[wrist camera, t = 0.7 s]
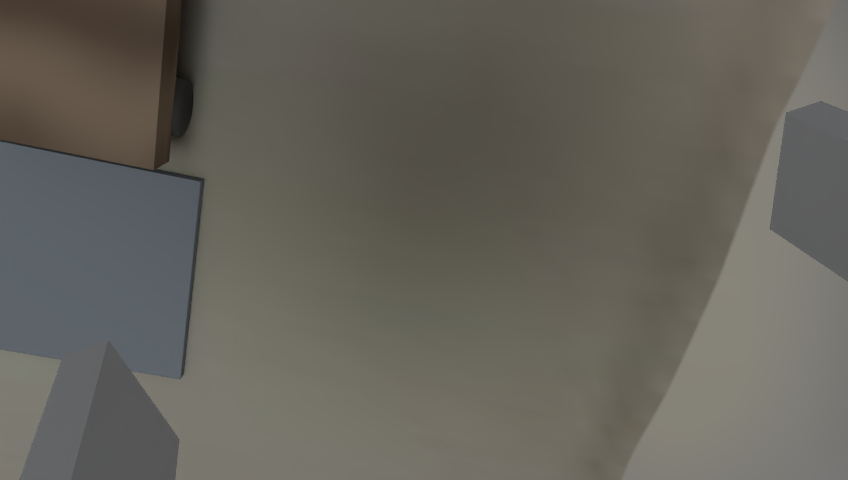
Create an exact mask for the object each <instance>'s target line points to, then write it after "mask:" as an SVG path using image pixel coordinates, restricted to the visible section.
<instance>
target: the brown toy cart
mask: <svg viewBox="0 0 848 480" xmlns="http://www.w3.org/2000/svg"><path fill="white" fill-rule="evenodd" d="M181 11H182V0H0V139H1V140H6V141H11V142H16V143H21V144H26V145H31V146H36V147H41V148H46V149H51V150H56V151H61V152H66V153H71V154H76V155H81V156H86V157H91V158H96V159H101V160H106V161H111V162H116V163H121V164H125V165H130V166H135V167H140V168H145V169H150V170H155V169H156V168H158V167H160V166H162V165H163V164H165V163H167V162H168V161H169V153H170V141H171V136H174V137H181V136H183V135H184V133H185V131H186V130H187V127H188V125H189V122H190V118H191V113H192V107H193V90H192V85H191V83H190V81H189V80H186V79H182V78H177V77H176V70H177V58H178V47H179V35H180V23H181Z"/></svg>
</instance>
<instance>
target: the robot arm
mask: <svg viewBox="0 0 848 480" xmlns="http://www.w3.org/2000/svg"><path fill="white" fill-rule="evenodd" d="M770 229H771V230H773V231H774V232H775V233H777V234H778V235H780V236H781V237H783V238H784V239H786V240H787V241H789V242H790V243H792V244H793V245H795V246H796V247H798V248H799V249H801V250H802V251H803V252H805V253H807V254H808V255H810V256H811V257H812V258H814V259H816V260H817V261H818V262H820V263H821V264H823V265H824V266H826V267H827V268H829V269H830V270H832V271H833V272H835V273H836V274H838V275H839V276H841V277H842V278H844V279H845V280H847V281H848V112H847V111H844V110H841V109H839V108H837V107H834V106H832V105H829V104H827V103H824V102H822V101H820V102H817V103H814V104H811V105H808V106H805V107H802V108H799V109H796V110H793V111H790V112H787V113H786V117H785V124H784V131H783V138H782V146H781V153H780V160H779V167H778V174H777V181H776V188H775V196H774V203H773V210H772V217H771V224H770ZM178 447H179V438H178V437H177V435H176V434H175V432H174V431H173V430H172V428H171V427H170V425H169V424H168V423H167V421H166V420H165V418H164V417H163V416H162V414H161V413H160V411H159V410H158V409H157V407H156V406H155V404H154V403H153V402H152V400H151V399H150V397H149V396H148V395H147V393H146V392H145V390H144V389H143V388H142V386H141V385H140V383H139V382H138V381H137V379H136V378H135V376H134V375H133V374H132V372H131V371H130V369H129V368H128V367H127V365H126V364H125V362H124V361H123V360H122V358H121V357H120V355H119V354H118V353H117V351H116V350H115V348H114V347H113V346H112V344H111V343H110V341H109V340H107V341H104V342H101V343H98V344H95V345H92V346H89V347H86V348H83V349H80V350H77V351H74V352H71V353H68V354H65V355H63V358H62V361H61V364H60V367H59V370H58V372H57V375H56V378H55V381H54V384H53V387H52V389H51V392H50V395H49V398H48V401H47V404H46V406H45V409H44V412H43V415H42V418H41V421H40V423H39V426H38V429H37V432H36V435H35V438H34V440H33V443H32V446H31V449H30V452H29V454H28V457H27V460H26V463H25V466H24V469H23V471H22V474H21V477H20V480H175V477H176V467H177V457H178Z"/></svg>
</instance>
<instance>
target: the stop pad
mask: <svg viewBox="0 0 848 480" xmlns="http://www.w3.org/2000/svg"><path fill="white" fill-rule="evenodd" d="M203 183H204V179H201V178H196V177H191V176H186V175H181V174H176V173H171V172H166V171H161V170H156V169H155V170H150V169H145V168H140V167H135V166H130V165H125V164H121V163H116V162H111V161H106V160H101V159H96V158H91V157H86V156H81V155H76V154H71V153H66V152H61V151H56V150H51V149H46V148H41V147H36V146H31V145H26V144H21V143H16V142H11V141H6V140H1V139H0V349H1V350H7V351H13V352H19V353H25V354H31V355H37V356H43V357H49V358H55V359H61V360H62V358H63V355H65V354H68V353H71V352H74V351H77V350H80V349H83V348H86V347H89V346H92V345H95V344H98V343H101V342H104V341H107V340H109V341H110V343H111V344H112V346H113V347H114V348H115V350H116V351H117V353H118V354H119V355H120V357H121V358H122V360H123V361H124V362H125V364H126V365H127V367H128V368H129V369H130V371H133V372H139V373H145V374H152V375H158V376H164V377H170V378H176V379H181V377H182V376H183V374H184V365H185V355H186V346H187V336H188V327H189V317H190V307H191V298H192V288H193V279H194V269H195V260H196V250H197V241H198V231H199V222H200V212H201V202H202V193H203Z"/></svg>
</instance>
